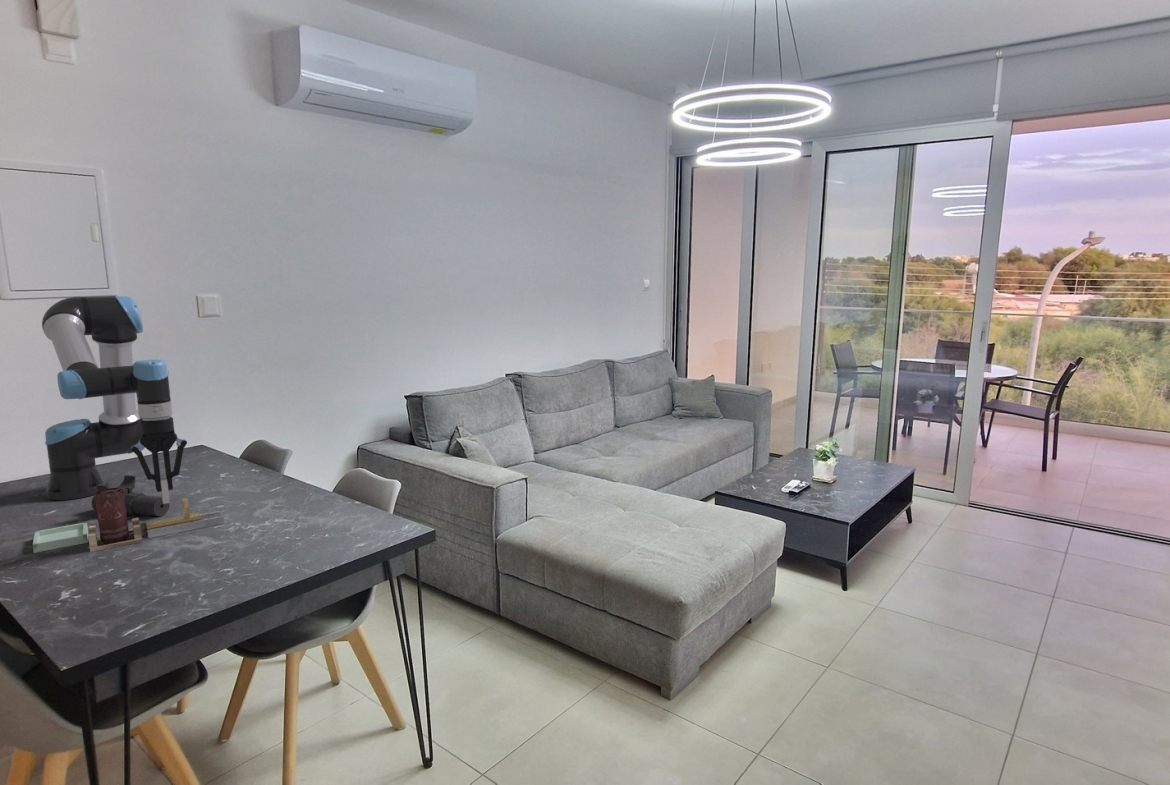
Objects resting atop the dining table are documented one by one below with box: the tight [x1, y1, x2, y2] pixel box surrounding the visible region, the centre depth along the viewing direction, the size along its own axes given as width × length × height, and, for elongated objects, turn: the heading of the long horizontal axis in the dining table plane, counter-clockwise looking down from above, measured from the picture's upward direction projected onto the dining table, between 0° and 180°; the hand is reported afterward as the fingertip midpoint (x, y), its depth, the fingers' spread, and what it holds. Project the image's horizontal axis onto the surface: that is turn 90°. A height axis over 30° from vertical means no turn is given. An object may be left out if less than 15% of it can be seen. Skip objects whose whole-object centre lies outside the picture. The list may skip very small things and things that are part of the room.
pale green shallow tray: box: [32, 521, 89, 554], centre depth 173 cm, size 11×11×2 cm
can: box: [95, 487, 130, 545], centre depth 172 cm, size 6×6×14 cm
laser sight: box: [91, 474, 171, 517], centre depth 192 cm, size 10×22×10 cm, turn 79°
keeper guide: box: [147, 510, 225, 539], centre depth 182 cm, size 6×18×2 cm, turn 127°
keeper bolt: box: [137, 497, 203, 539], centre depth 179 cm, size 3×15×8 cm, turn 127°
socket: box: [88, 517, 143, 553], centre depth 172 cm, size 10×11×4 cm
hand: (166, 501), depth 178 cm, fingers closed
